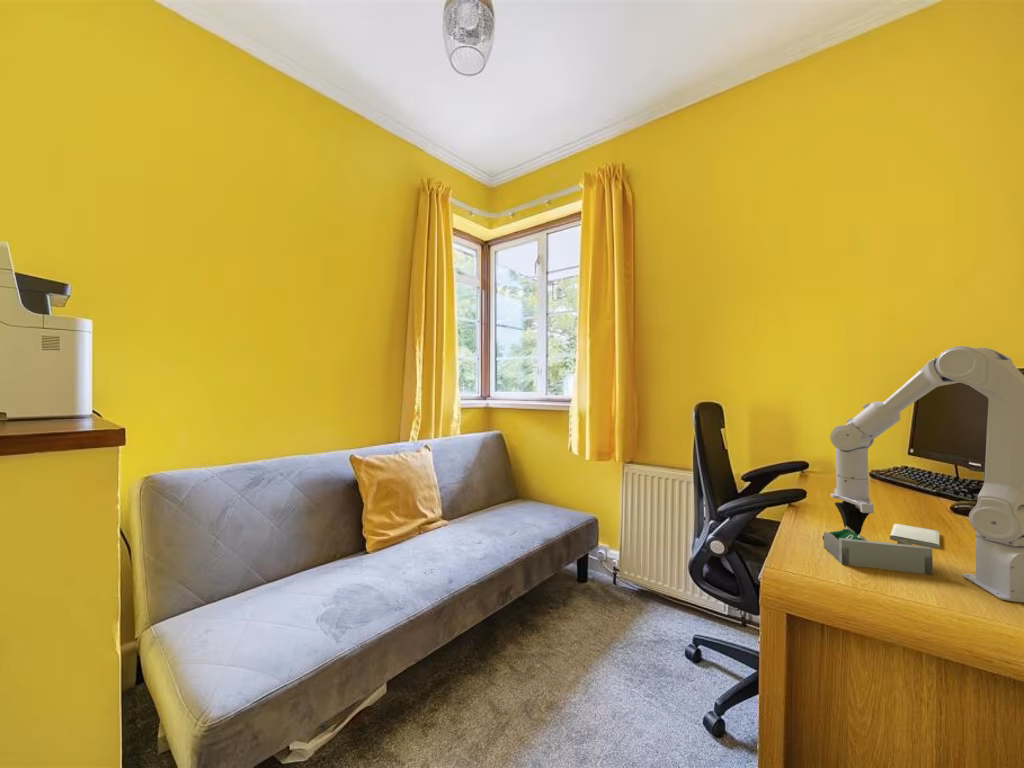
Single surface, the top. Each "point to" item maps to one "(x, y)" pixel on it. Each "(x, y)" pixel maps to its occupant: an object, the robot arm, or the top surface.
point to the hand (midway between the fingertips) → (853, 535)
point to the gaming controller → (847, 534)
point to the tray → (881, 554)
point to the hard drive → (916, 535)
